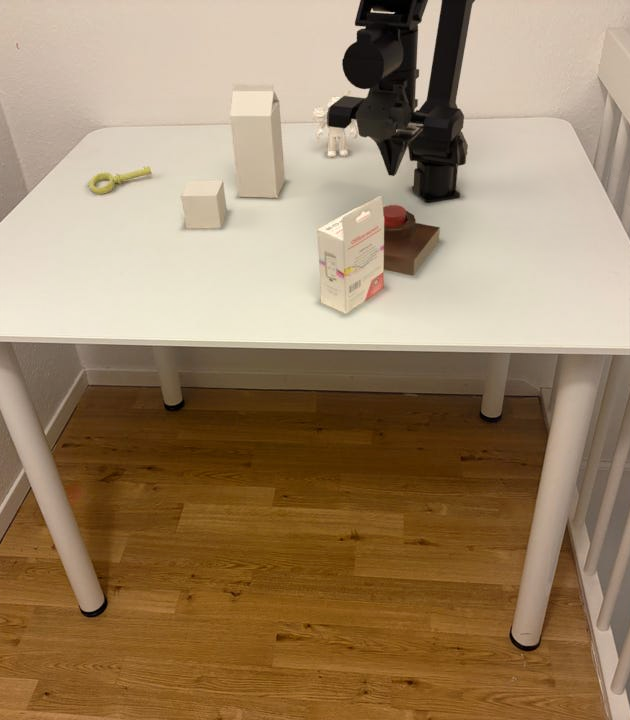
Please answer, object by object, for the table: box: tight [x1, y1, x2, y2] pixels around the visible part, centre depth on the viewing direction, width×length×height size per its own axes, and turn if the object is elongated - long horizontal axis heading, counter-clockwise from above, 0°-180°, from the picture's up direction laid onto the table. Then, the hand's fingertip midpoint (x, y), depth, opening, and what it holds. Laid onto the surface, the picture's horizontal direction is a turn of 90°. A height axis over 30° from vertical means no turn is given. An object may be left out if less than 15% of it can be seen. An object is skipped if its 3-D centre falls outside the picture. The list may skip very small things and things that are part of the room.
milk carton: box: [229, 83, 286, 199], centre depth 127 cm, size 7×7×19 cm
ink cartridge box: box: [316, 195, 385, 314], centre depth 99 cm, size 9×5×15 cm, turn 136°
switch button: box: [383, 204, 407, 226], centre depth 111 cm, size 4×4×2 cm
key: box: [88, 165, 152, 195], centre depth 140 cm, size 7×12×2 cm, turn 123°
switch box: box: [384, 210, 441, 277], centre depth 112 cm, size 11×13×4 cm
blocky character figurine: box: [312, 90, 359, 158], centre depth 141 cm, size 9×4×12 cm, turn 89°
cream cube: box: [180, 179, 228, 229], centre depth 123 cm, size 6×6×6 cm
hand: (392, 174), depth 108 cm, fingers closed
